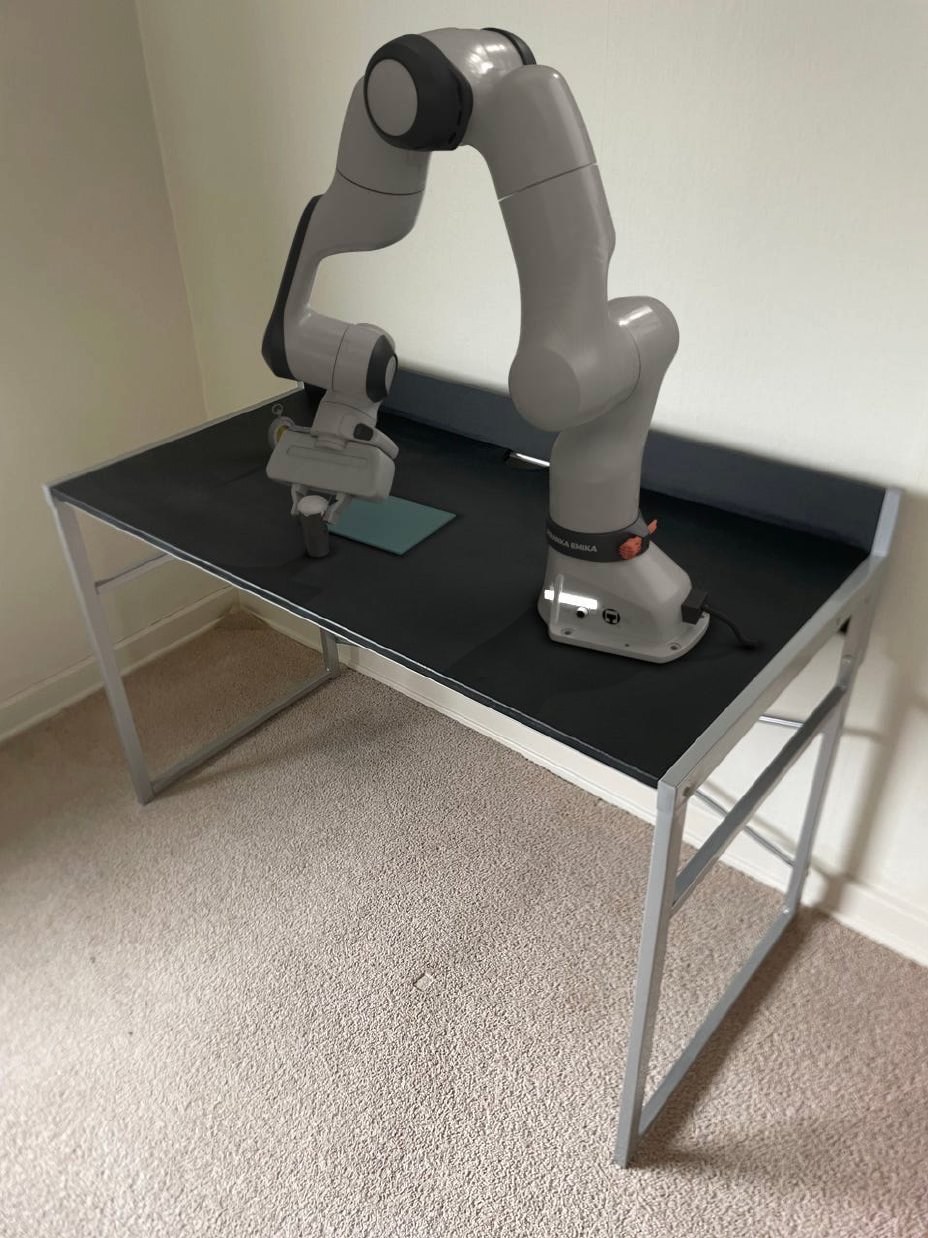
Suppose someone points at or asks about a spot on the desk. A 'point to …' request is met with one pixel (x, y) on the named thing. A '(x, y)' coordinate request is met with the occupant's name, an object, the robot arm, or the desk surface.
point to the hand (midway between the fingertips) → (313, 520)
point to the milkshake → (314, 524)
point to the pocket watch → (278, 427)
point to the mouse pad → (389, 523)
